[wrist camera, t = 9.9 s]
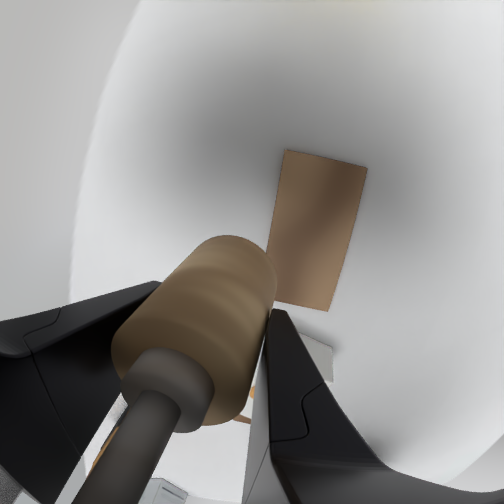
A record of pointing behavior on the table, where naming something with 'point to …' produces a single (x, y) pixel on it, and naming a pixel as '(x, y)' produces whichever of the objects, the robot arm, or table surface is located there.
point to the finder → (320, 357)
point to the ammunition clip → (110, 436)
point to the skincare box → (162, 493)
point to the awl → (185, 360)
